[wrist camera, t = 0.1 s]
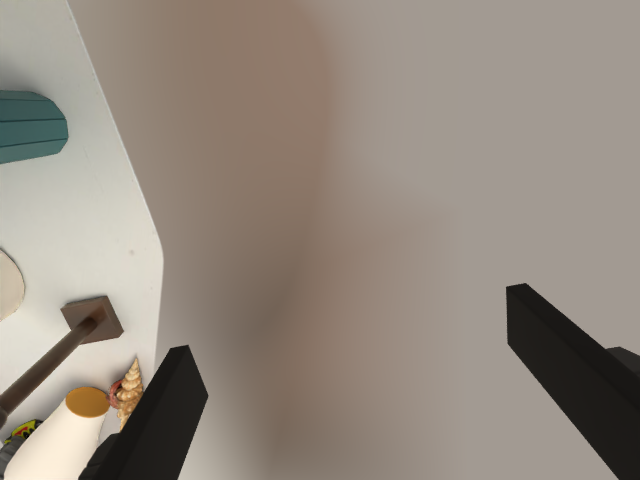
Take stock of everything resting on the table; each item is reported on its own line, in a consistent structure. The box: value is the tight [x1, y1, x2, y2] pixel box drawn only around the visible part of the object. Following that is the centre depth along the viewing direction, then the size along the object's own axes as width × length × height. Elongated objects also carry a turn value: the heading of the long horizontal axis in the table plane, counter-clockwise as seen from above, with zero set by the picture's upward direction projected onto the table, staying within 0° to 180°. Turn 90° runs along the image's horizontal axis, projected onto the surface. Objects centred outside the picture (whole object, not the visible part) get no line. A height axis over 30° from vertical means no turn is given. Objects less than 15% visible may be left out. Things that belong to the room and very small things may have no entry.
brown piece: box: [0, 296, 124, 430], centre depth 42 cm, size 6×6×19 cm
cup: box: [4, 387, 110, 480], centre depth 53 cm, size 10×10×14 cm
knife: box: [4, 419, 43, 443], centre depth 59 cm, size 13×1×5 cm
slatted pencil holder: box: [0, 90, 68, 164], centre depth 37 cm, size 7×7×10 cm
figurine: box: [105, 358, 144, 433], centre depth 54 cm, size 14×5×4 cm, turn 179°
